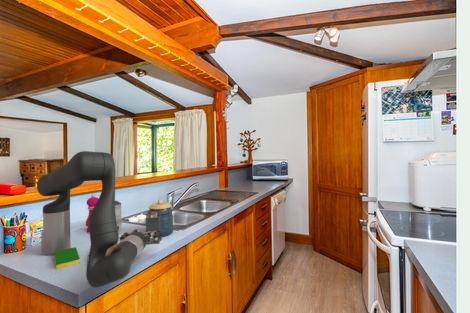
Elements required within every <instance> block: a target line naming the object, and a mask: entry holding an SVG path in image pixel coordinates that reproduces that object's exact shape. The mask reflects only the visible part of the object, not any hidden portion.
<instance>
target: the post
mask: <svg viewBox="0 0 470 313" xmlns="http://www.w3.org/2000/svg"><path fill="white" fill-rule="evenodd" d="M150 215H151V218H153V217H157V212H151V213H150Z"/></svg>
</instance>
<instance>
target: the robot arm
mask: <svg viewBox="0 0 470 313" xmlns="http://www.w3.org/2000/svg"><path fill="white" fill-rule="evenodd" d="M87 181H88V182H90V181H93V182H95V181H101V186H102V187H101V192H100V195H99V197H98V201H97V203H96V204H95V206H94V208H93V210H92V212H91V214H90V218H89V232H90V233H89V240H90V241H89V242H90V248H89V252H88V259H87V265H86V270H85V278H86V281H87V282H88V284H89V285H90V286H91V287H92V288H101V287H104V286H106V285H108V284H112V283H115V282H117V281H120V280H122V279H124V278H125V277H127V276H128V275H129V274H130V271H131V267H132V264H133V261H134V260H135V259H136V258H137V257H139V255H140V254H142V252H143V251H144V249H145V248H146V246H147V245H148V244H147V243H148V242H150V241H151V240H154V242H157V241H158V240H159V239H160V238H161V231H159V229H158V228H156V229H155V230H154V231H153V232H151V231H149V232H146V231H145V232H141V231H138V229H134V230H133V231H130V232H127V231H126V232H124V233H123V234H122V235H121V236H120V235H119V234H118V228H117V222H116V214H115V201H116V165H115V160H114V156H113V155H112V154H111V153H109V152H105V151H103V152H102V151H101V152H100V151H88V150H87V151H86V150H84V151H82V150H81V151H79V152H77V153H75V154H74V155H73V156H72V157H71V158H70V159H69V160H68V162H66V163H65V164H63V165H61V166H60V167H58V168H57V169H55V170H53V171H51V172H49V173H47V174H43V175H41V176H40V177H39V178H38V180H37V182H36V189H37V193H39V194H40V196H42V197H54V196H55V197H56V196H58V197H57V198H56V199H55V200H53V201H51V202H49V203H47V204H46V203H45V204H44V205H43V206H42V231H41V234H40V239H41V240H40V241H41V242H40V244H41V247H40V248H41V255H42V256H52V255H54V256H55V252H56V251H60V250H65V249H69V248H72V246H71V244H72V243H71V241H72V240H71V190H73V189H76V188H78V187H81V185H82V184H83V183H84V182H87ZM153 233H154V236H153ZM148 234H149V235H148ZM119 242H120V244H119V245H117V246H116V247H115V248H114V249H113V250H112V252H111V253H110V255H109V256H106V257H105V255H106V252H107V250H108V249H109V248H110V247H112V246H113V245H115V244H116V243H119Z"/></svg>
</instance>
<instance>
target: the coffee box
mask: <svg viewBox="0 0 470 313" xmlns="http://www.w3.org/2000/svg"><path fill="white" fill-rule="evenodd" d="M115 214H116V222H117V228H118V235H119V234H122V231H123V230H122V202H120V201H118V200H115Z"/></svg>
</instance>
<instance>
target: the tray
mask: <svg viewBox="0 0 470 313" xmlns="http://www.w3.org/2000/svg"><path fill="white" fill-rule="evenodd" d="M119 244H120V241H118V242H117V243H116V244H115V245H113V246H112V247H110V248H109V249H108V250H107V252H106V255H105V257H106V256H109V255H110V253H111V252H112V250H113V249H114V248H115V247H116V246H117V245H119Z"/></svg>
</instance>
